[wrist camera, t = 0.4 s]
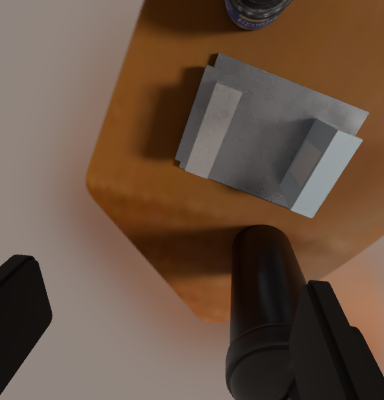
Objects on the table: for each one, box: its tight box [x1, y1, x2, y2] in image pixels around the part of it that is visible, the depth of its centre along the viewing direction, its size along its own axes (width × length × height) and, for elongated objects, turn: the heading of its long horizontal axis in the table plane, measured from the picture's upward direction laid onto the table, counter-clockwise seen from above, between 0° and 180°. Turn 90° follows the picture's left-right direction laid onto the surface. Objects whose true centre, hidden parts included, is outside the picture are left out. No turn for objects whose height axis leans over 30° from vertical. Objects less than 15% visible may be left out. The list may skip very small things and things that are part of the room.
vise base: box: [175, 53, 369, 209], centre depth 31 cm, size 14×19×8 cm
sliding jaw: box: [280, 118, 363, 218], centre depth 31 cm, size 9×2×7 cm, turn 161°
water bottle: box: [226, 225, 307, 400], centre depth 31 cm, size 10×10×23 cm
